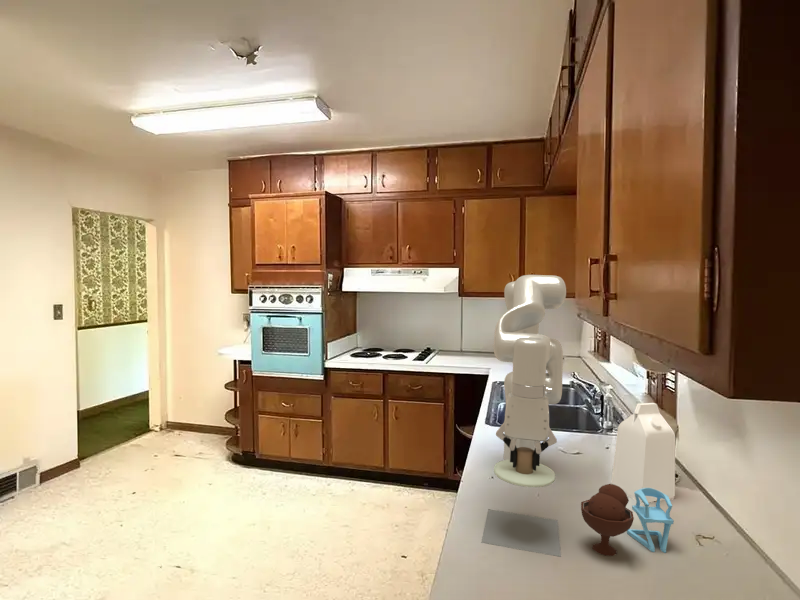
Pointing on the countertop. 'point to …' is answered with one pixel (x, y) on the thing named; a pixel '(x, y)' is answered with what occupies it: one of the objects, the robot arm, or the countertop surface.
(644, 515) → the chair
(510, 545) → the mat
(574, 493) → the countertop surface
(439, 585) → the countertop surface
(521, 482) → the lid
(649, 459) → the milk
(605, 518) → the ice cream bowl
